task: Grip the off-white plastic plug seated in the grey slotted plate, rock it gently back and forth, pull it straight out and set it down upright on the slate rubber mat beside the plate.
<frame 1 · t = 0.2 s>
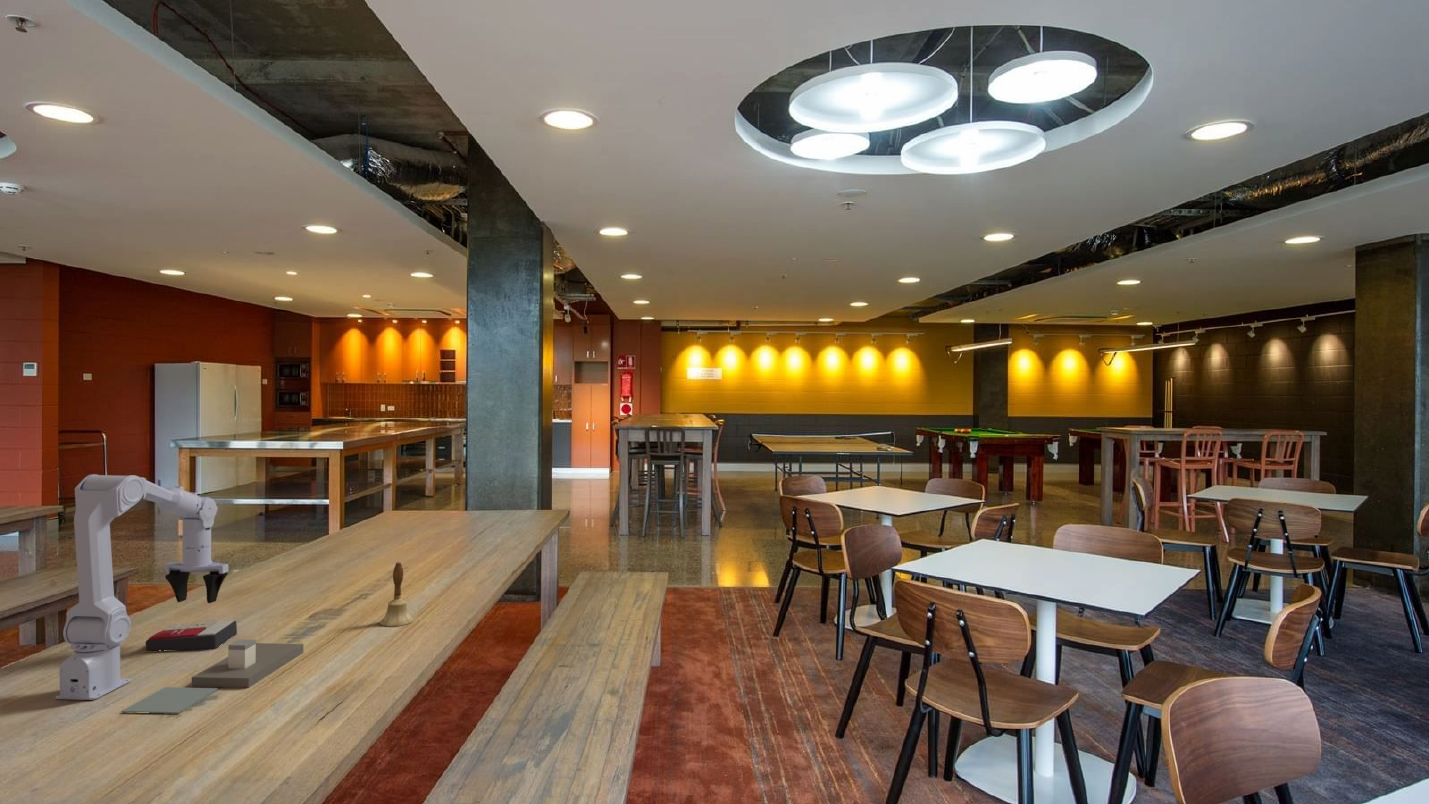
hand: (196, 601, 177), 10 cm above the table, tool pointing down, fingers open, 7 cm apart
grey slotted plate: (250, 668, 162), on the table
mat: (171, 701, 145), on the table
hand bell: (396, 622, 195), on the table
plug: (242, 674, 159), resting in grey slotted plate
calculator: (192, 644, 177), on the table
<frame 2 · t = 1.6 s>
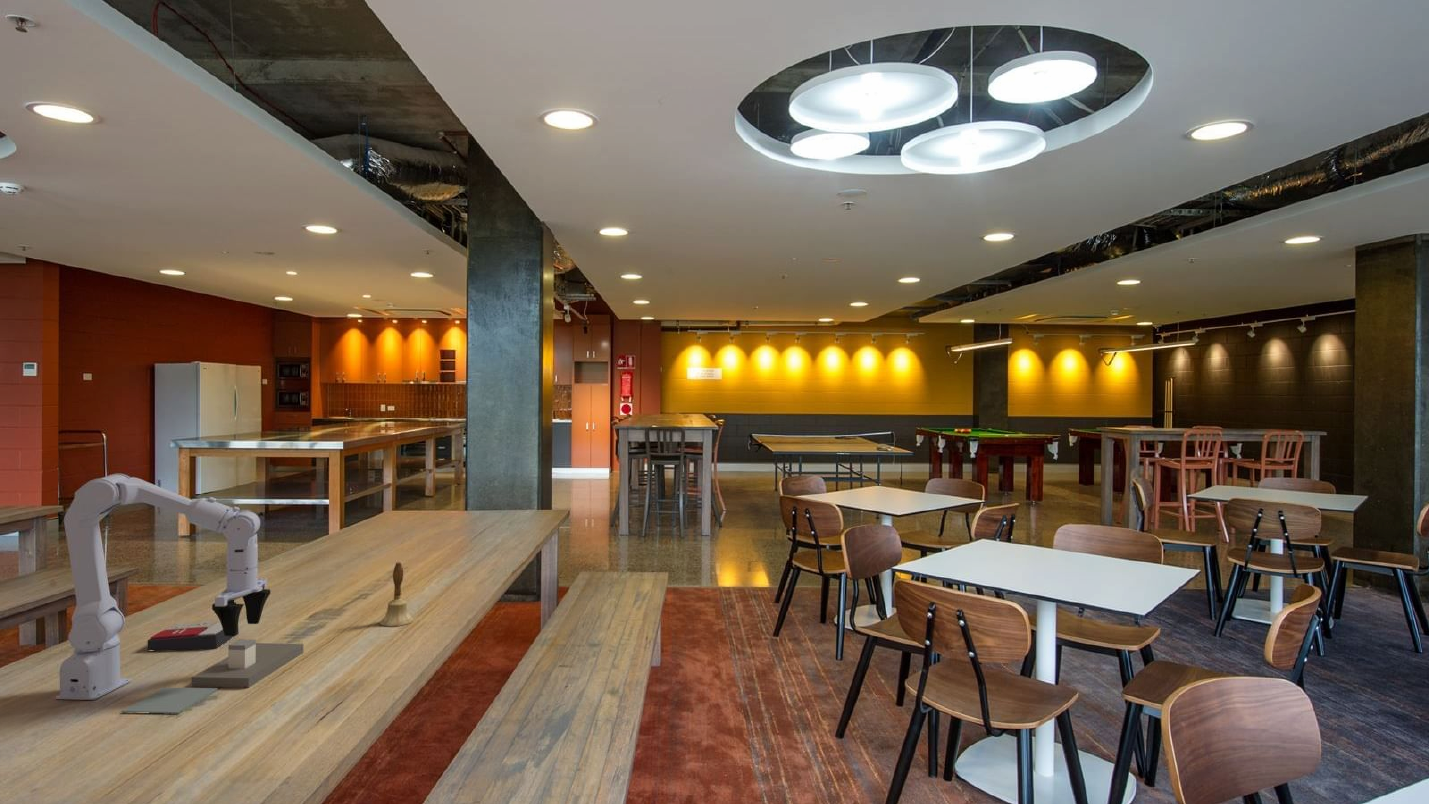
hand: (242, 629, 159), 10 cm above the table, tool pointing down, fingers open, 7 cm apart
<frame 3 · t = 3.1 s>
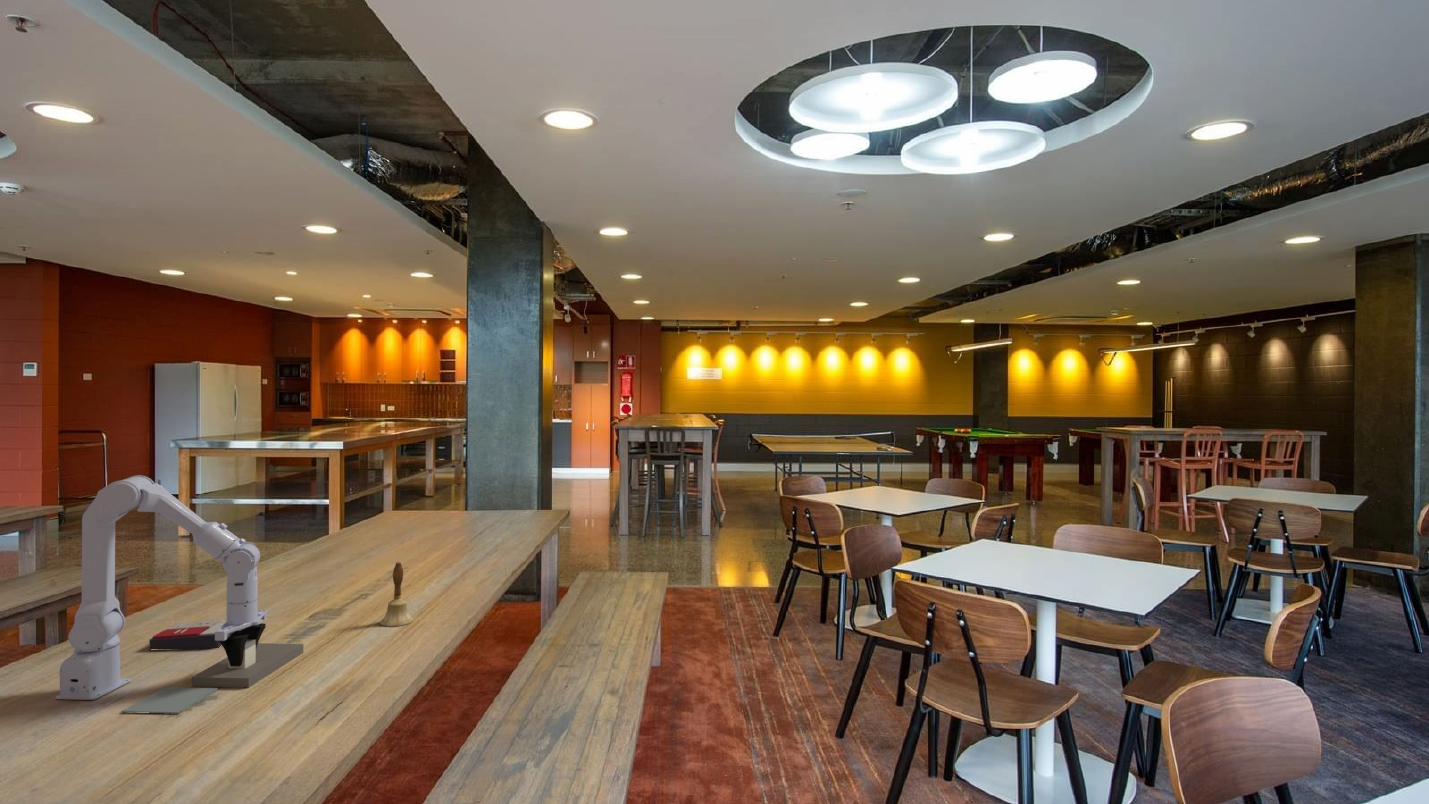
hand: (242, 662, 159), 3 cm above the table, tool pointing down, fingers closed on plug, 4 cm apart
plug: (242, 673, 159), resting in grey slotted plate, touching gripper
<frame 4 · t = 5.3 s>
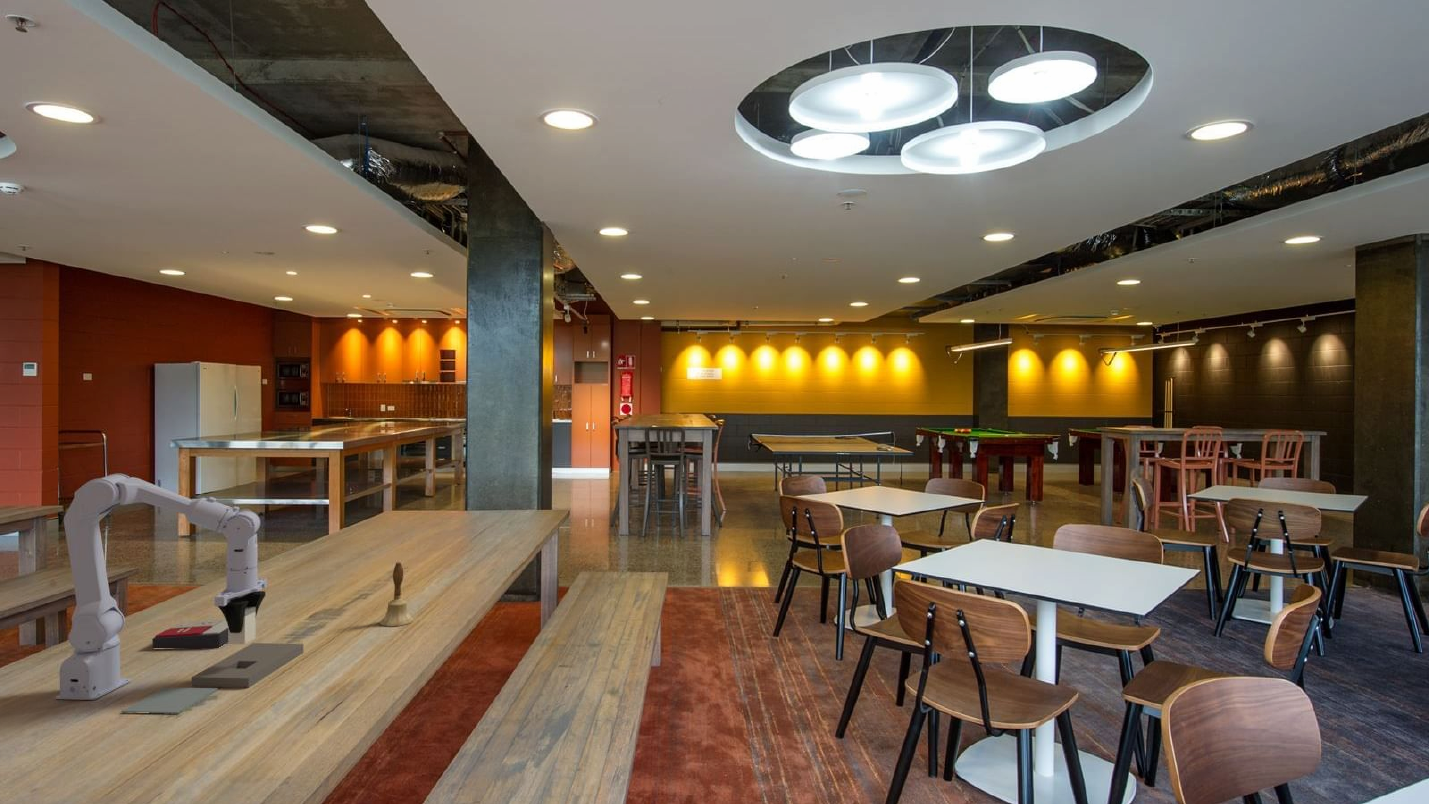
hand: (241, 629, 159), 10 cm above the table, tool pointing down, fingers closed on plug, 4 cm apart
plug: (242, 641, 159), point 7 cm above the table, touching gripper
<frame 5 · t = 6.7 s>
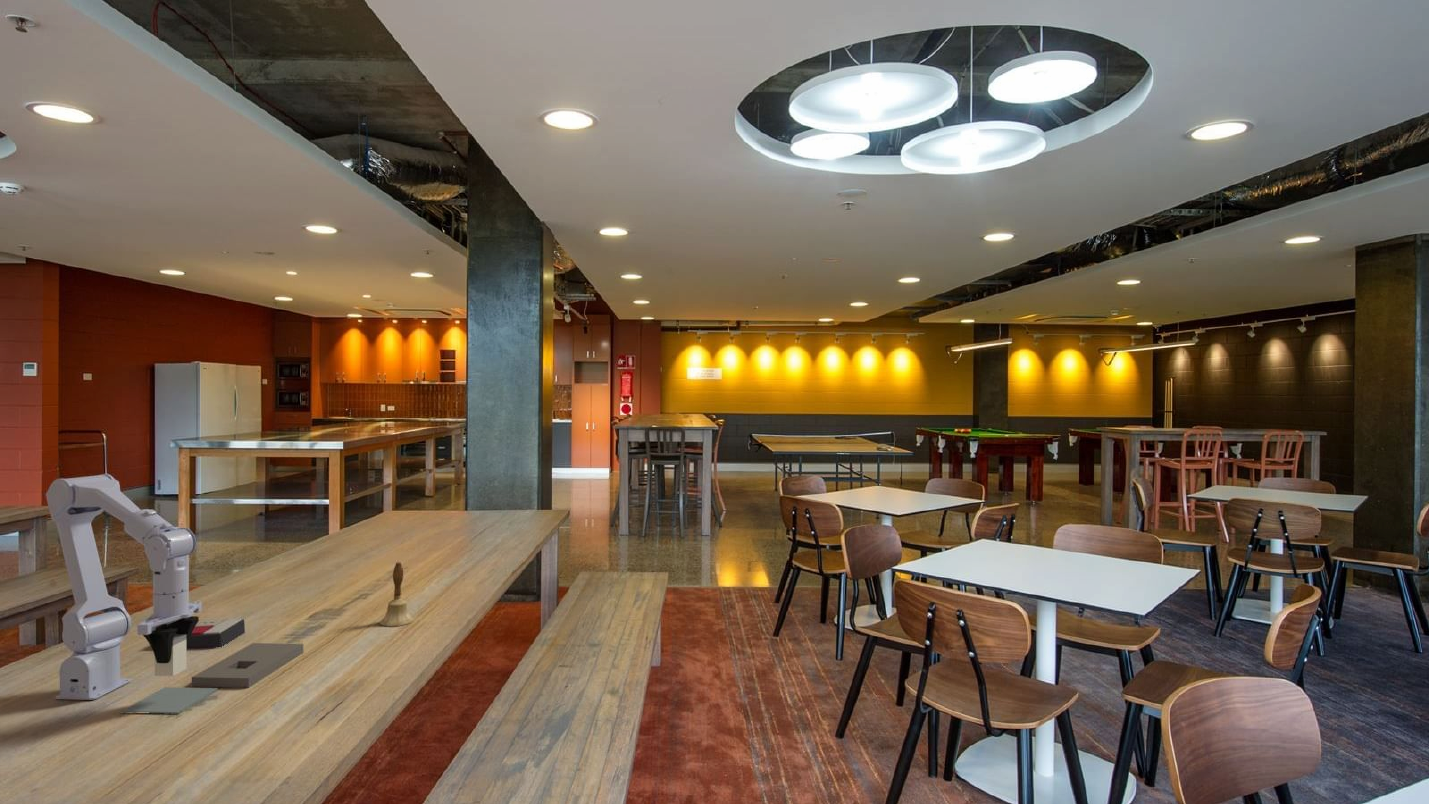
hand: (171, 658, 145), 9 cm above the table, tool pointing down, fingers closed on plug, 4 cm apart
plug: (170, 672, 145), point 6 cm above the table, touching gripper
when the fingers open (5 cm above the table, at t = 7.9 s): plug drops 1 cm, resting on mat.
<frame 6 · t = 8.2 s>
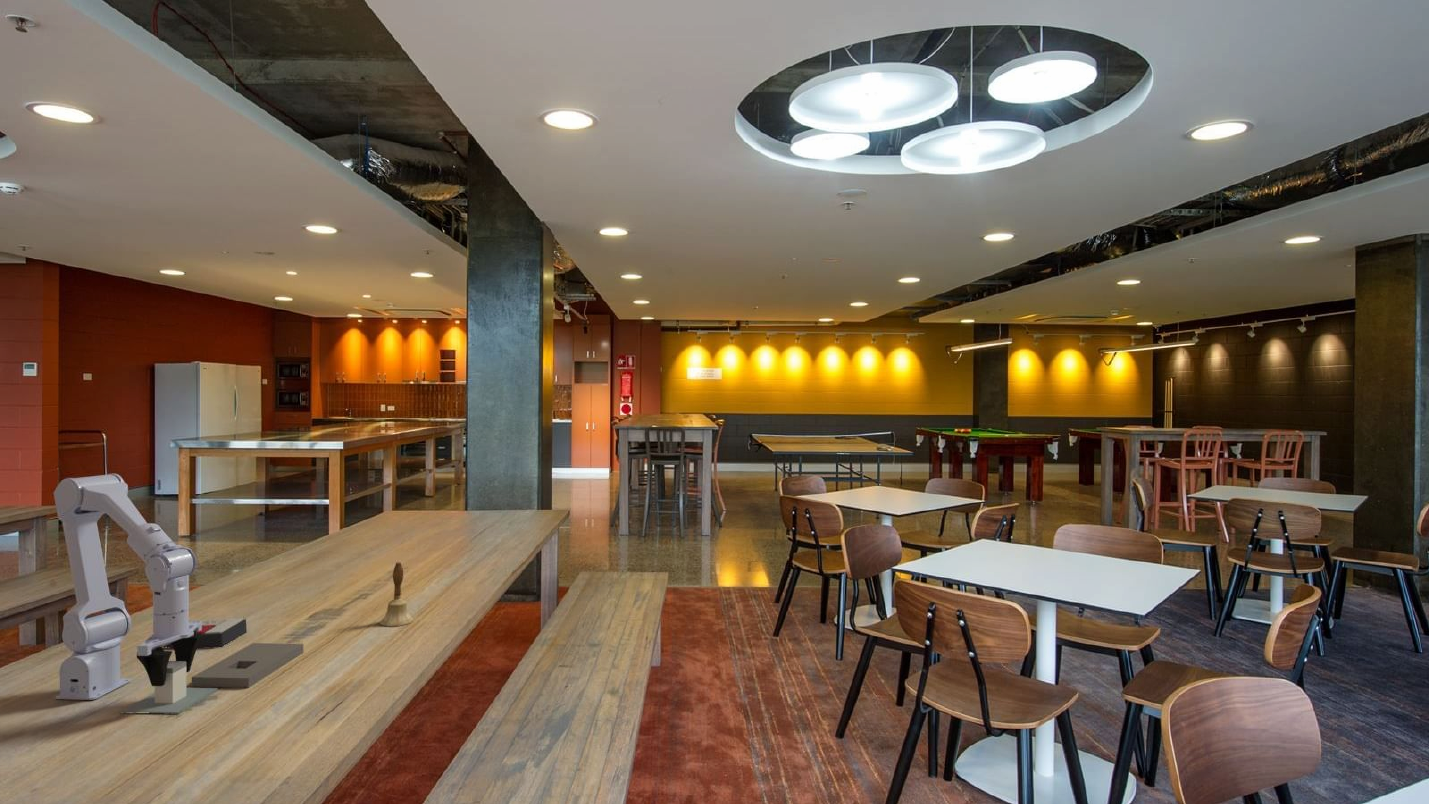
hand: (171, 678, 145), 5 cm above the table, tool pointing down, fingers open, 6 cm apart
plug: (170, 699, 145), resting on mat
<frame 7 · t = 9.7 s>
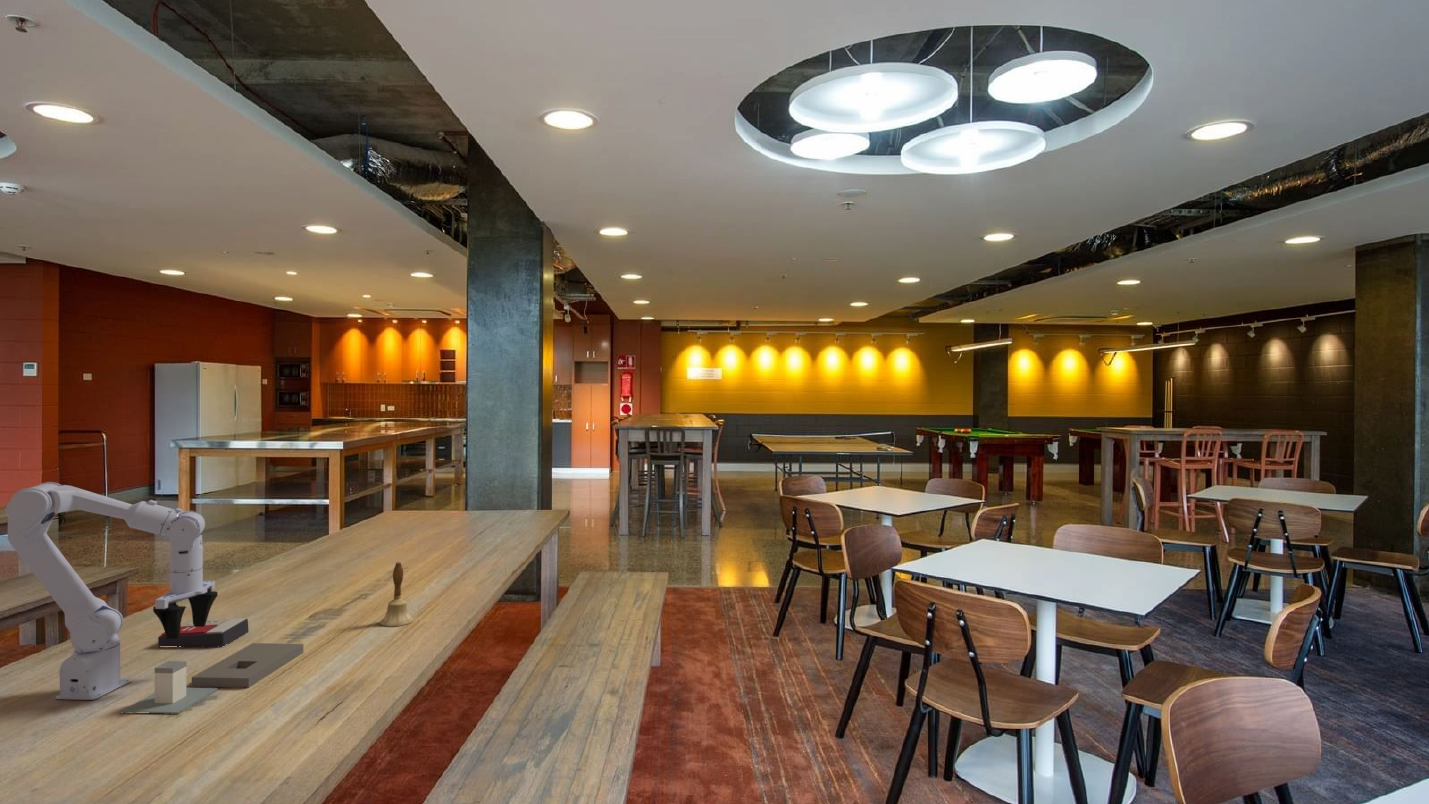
hand: (186, 632, 156), 10 cm above the table, tool pointing down, fingers open, 7 cm apart
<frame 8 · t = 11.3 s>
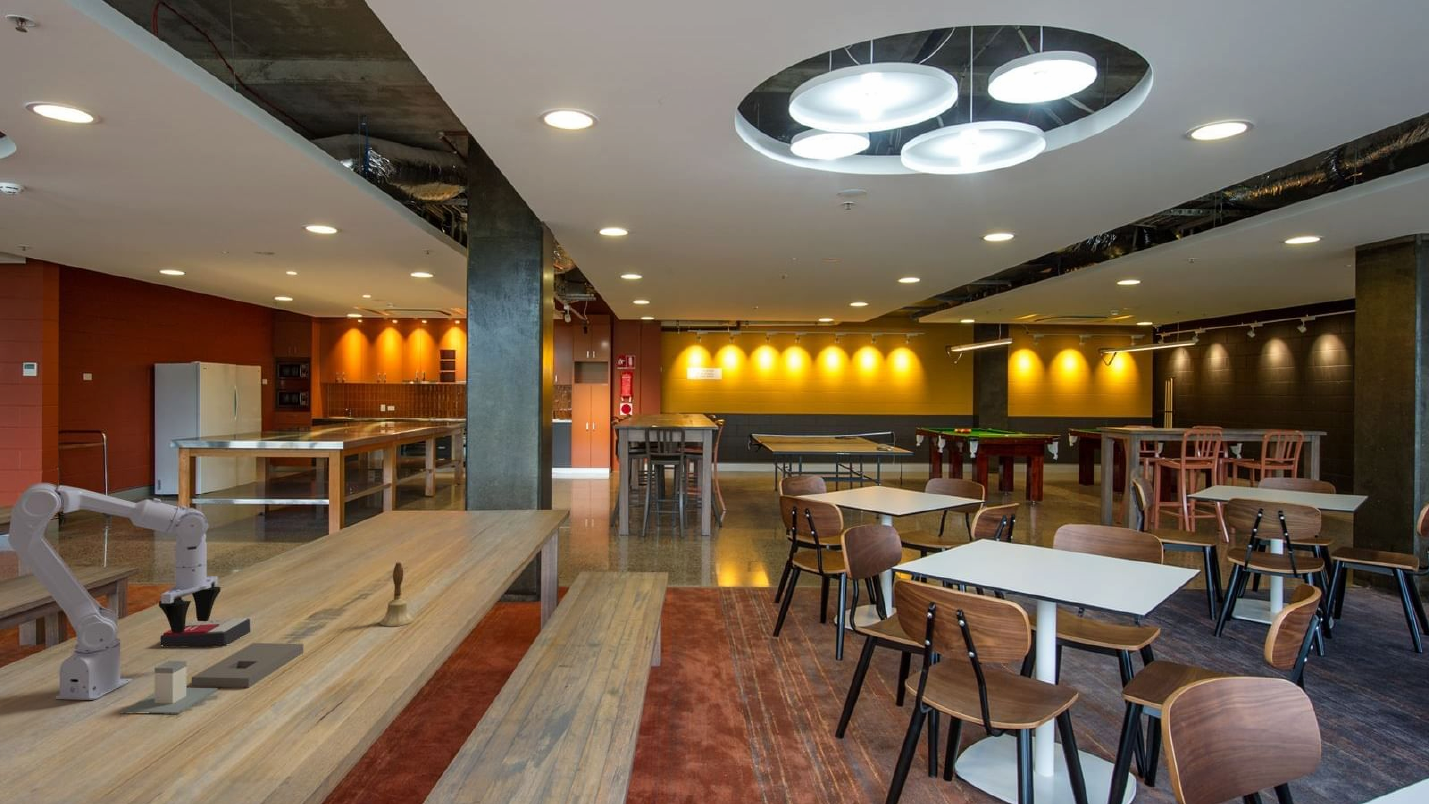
hand: (190, 626, 160), 10 cm above the table, tool pointing down, fingers open, 7 cm apart
at the end: plug 0.1 cm off-centre on the mat, point 0.4 cm above the mat's base; plug tilted 0°; the gripper is holding nothing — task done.
